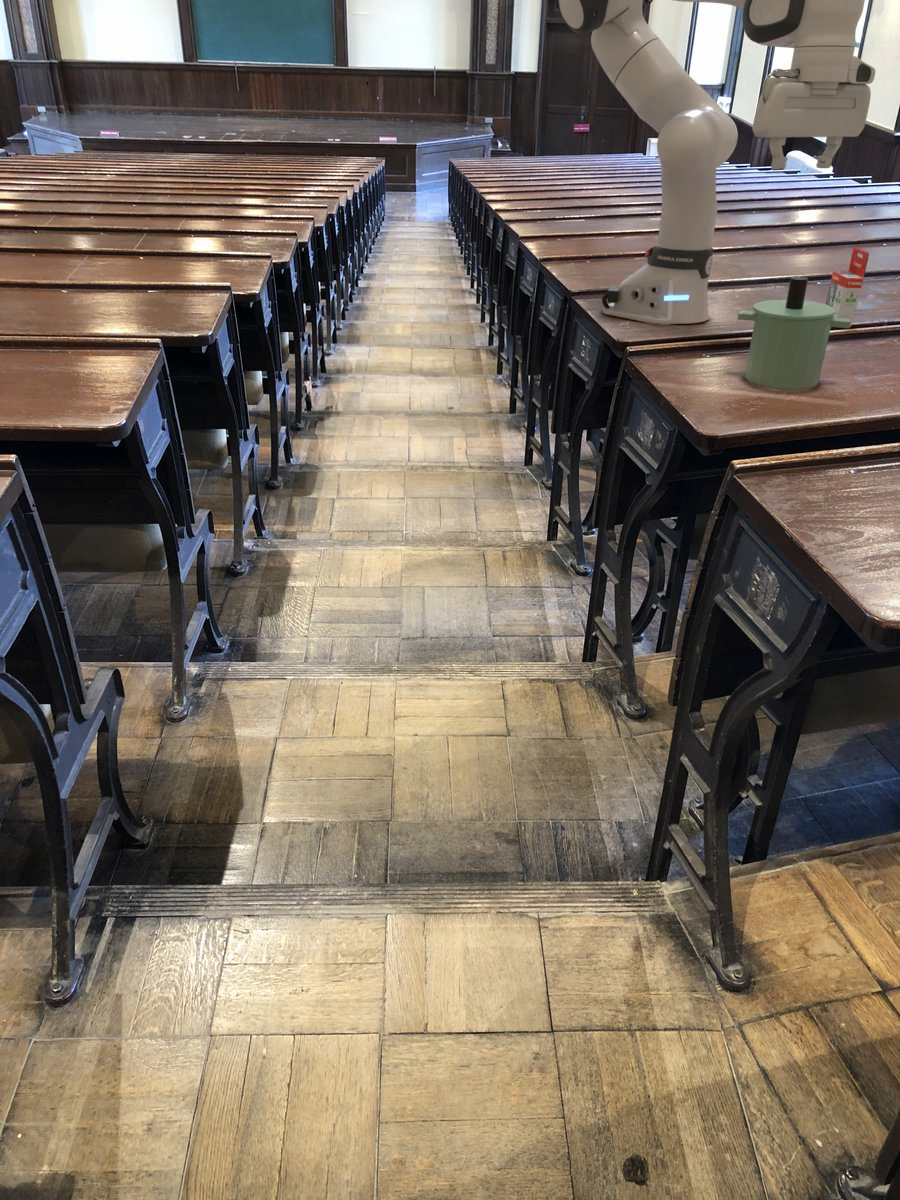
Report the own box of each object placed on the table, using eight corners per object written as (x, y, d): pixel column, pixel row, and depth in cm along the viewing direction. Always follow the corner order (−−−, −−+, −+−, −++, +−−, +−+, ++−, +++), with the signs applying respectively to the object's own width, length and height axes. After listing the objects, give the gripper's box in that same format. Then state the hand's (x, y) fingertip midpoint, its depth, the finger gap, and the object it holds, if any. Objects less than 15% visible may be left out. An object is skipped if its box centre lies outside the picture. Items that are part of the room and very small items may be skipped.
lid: (754, 304, 144) (759, 269, 142) (833, 309, 141) (840, 273, 138) (750, 320, 134) (756, 283, 132) (835, 325, 131) (843, 287, 128)
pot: (730, 368, 150) (741, 300, 145) (833, 378, 146) (849, 308, 140) (725, 386, 141) (737, 314, 135) (835, 397, 136) (853, 323, 130)
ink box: (834, 327, 178) (852, 252, 170) (820, 318, 184) (837, 246, 177) (852, 327, 178) (870, 252, 170) (837, 319, 184) (854, 246, 177)
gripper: (781, 68, 128) (763, 171, 135) (884, 70, 135) (861, 168, 142) (753, 68, 133) (737, 168, 140) (853, 71, 140) (833, 166, 147)
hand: (800, 168), depth 141 cm, fingers open, 8 cm apart
